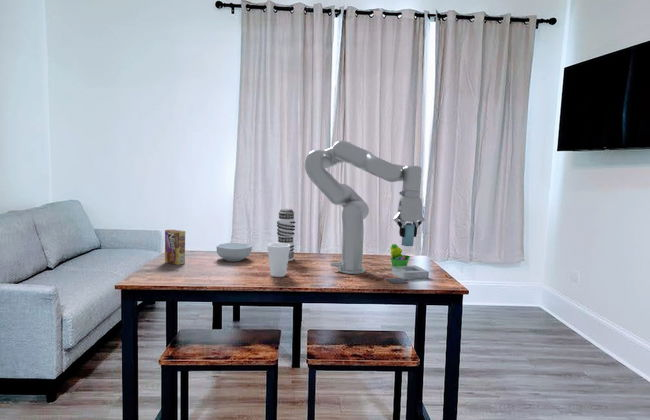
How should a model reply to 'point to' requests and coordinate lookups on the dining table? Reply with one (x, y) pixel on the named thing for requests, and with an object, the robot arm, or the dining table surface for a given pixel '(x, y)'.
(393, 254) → the fruit basket
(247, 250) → the cereal bowl
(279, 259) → the foam cup
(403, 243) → the blue cylinder
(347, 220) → the robot arm
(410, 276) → the frame
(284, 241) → the decorative candle
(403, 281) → the mat
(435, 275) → the dining table surface
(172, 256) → the candy box
